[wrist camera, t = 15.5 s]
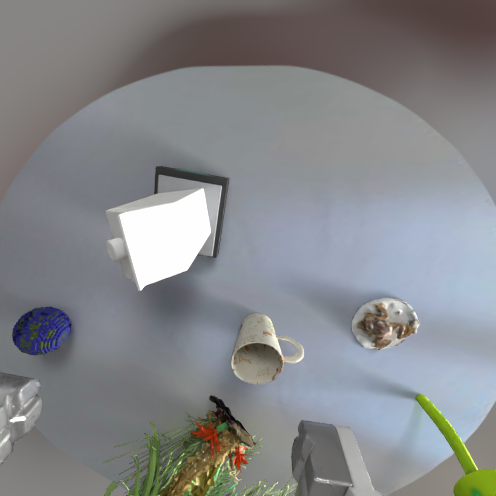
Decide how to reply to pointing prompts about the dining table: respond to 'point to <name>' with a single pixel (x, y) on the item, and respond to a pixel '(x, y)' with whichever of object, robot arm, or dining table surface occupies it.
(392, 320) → the plate of food scraps
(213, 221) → the scale
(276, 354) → the mug
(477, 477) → the mushroom
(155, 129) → the dining table surface
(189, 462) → the plant
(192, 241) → the milk carton
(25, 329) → the ball
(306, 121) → the dining table surface
